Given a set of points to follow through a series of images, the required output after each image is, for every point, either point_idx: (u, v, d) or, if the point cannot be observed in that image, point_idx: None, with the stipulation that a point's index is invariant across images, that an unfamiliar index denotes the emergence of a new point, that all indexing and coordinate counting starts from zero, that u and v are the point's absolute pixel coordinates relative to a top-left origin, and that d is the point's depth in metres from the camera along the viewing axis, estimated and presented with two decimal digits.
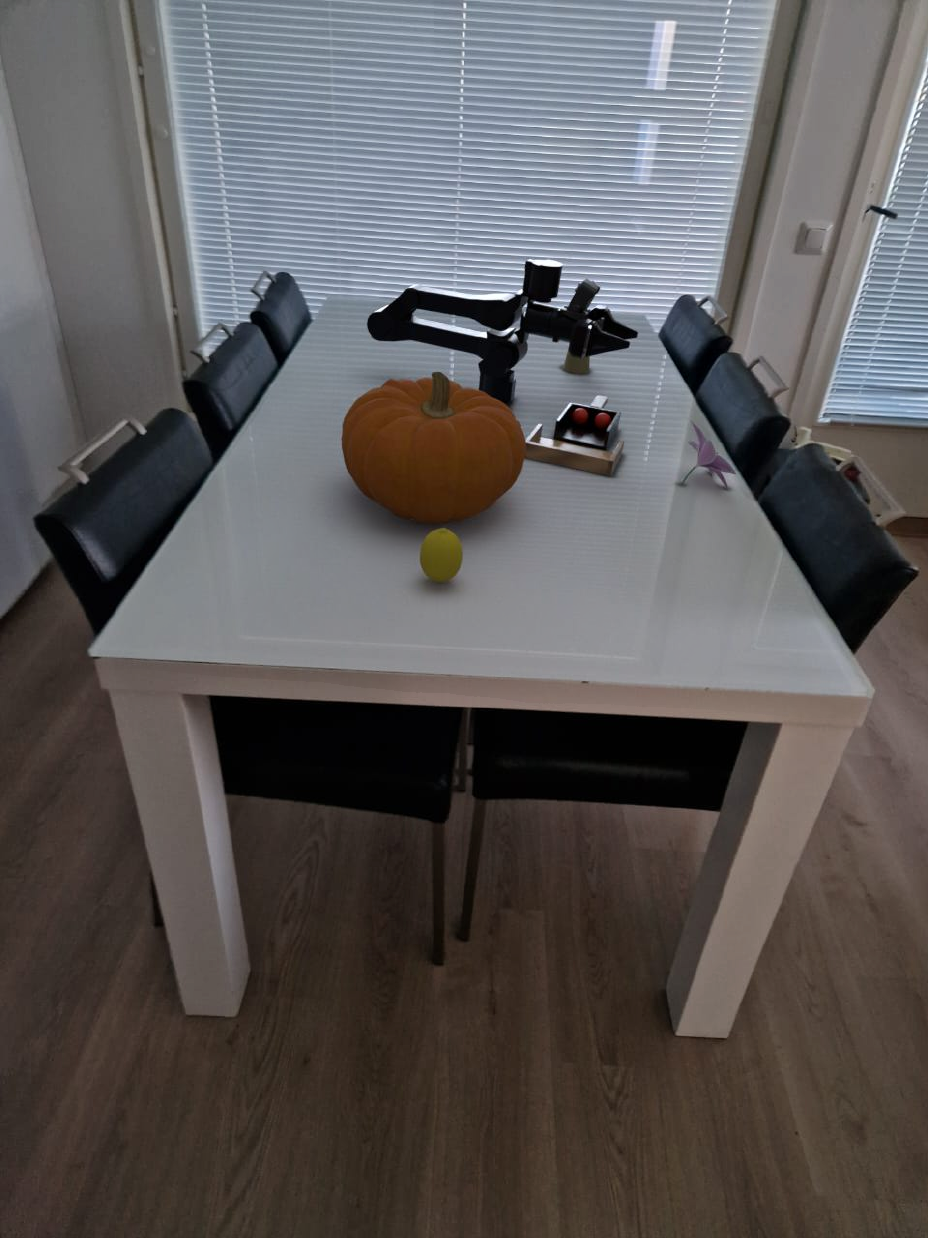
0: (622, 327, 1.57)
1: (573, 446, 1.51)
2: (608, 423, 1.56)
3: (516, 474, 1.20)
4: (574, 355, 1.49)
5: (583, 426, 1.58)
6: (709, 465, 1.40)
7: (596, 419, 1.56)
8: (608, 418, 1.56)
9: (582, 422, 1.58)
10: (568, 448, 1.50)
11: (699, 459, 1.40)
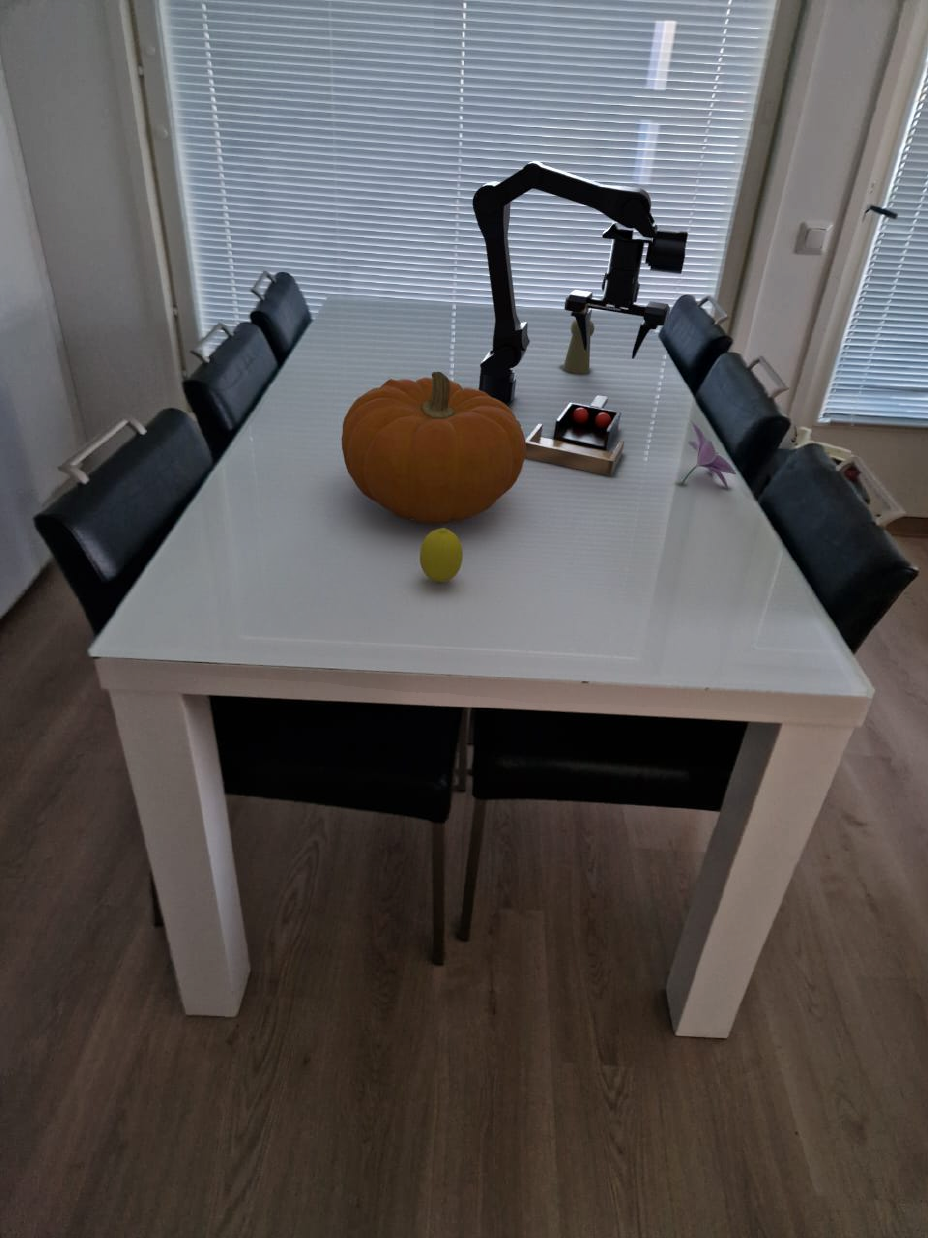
0: None
1: (573, 446, 1.51)
2: (608, 422, 1.56)
3: (516, 474, 1.20)
4: (664, 317, 1.49)
5: (583, 426, 1.58)
6: (709, 465, 1.40)
7: (596, 418, 1.57)
8: (608, 417, 1.56)
9: (582, 421, 1.58)
10: (568, 448, 1.50)
11: (699, 459, 1.40)
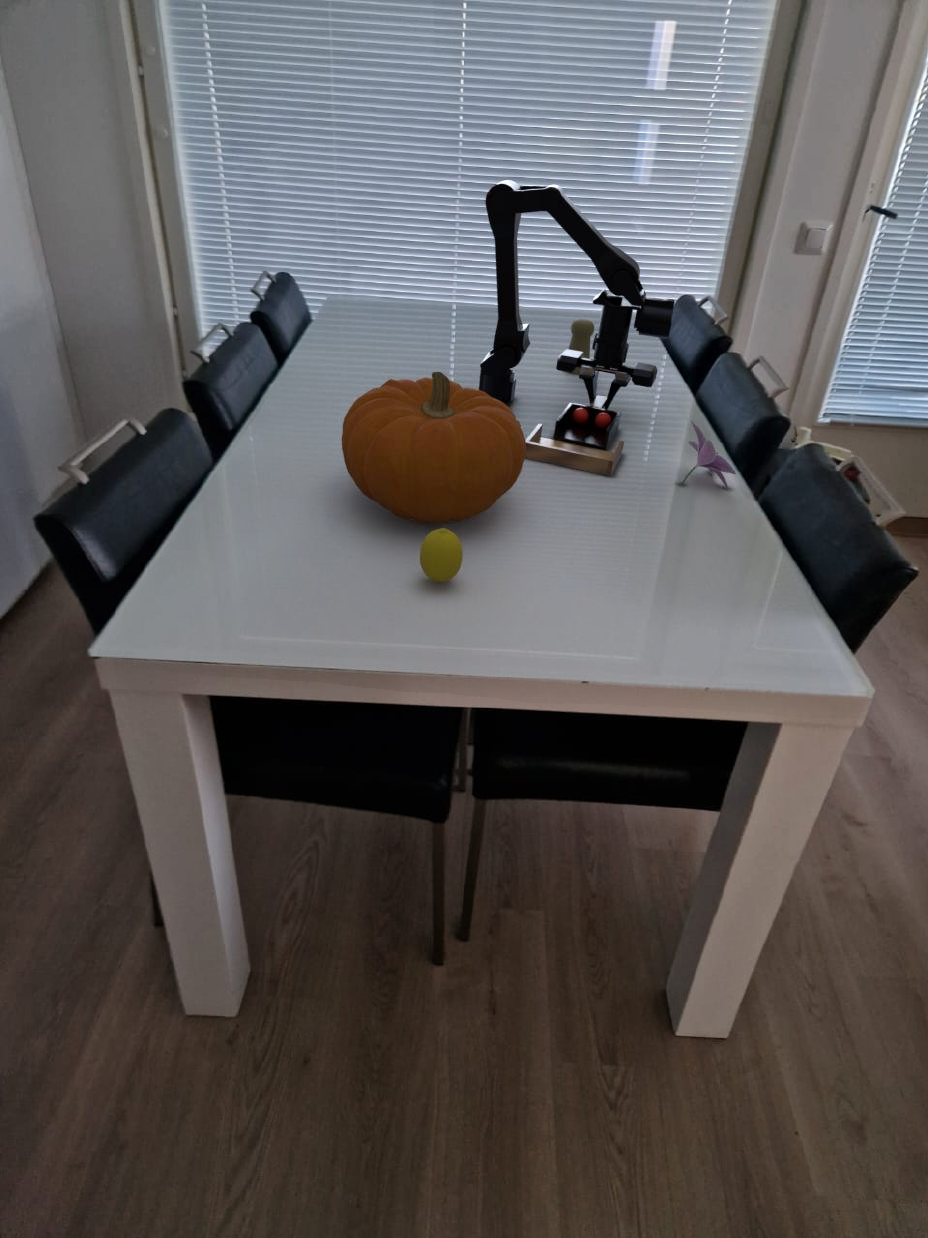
0: None
1: (573, 446, 1.51)
2: (608, 422, 1.56)
3: (516, 474, 1.20)
4: (651, 379, 1.55)
5: (583, 426, 1.58)
6: (709, 465, 1.40)
7: (596, 418, 1.57)
8: (608, 417, 1.56)
9: (582, 421, 1.58)
10: (568, 448, 1.50)
11: (699, 459, 1.40)
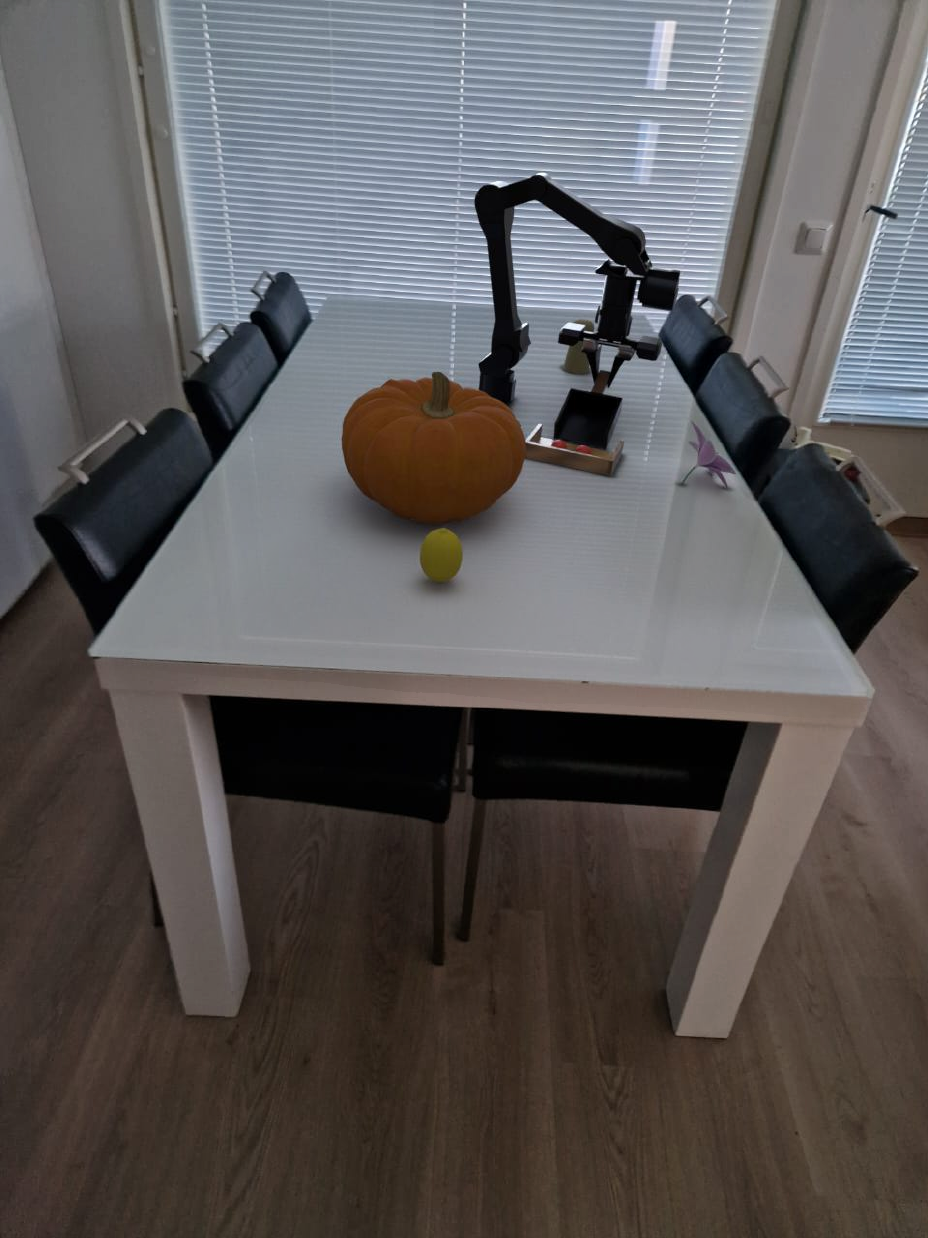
0: None
1: (573, 446, 1.51)
2: (590, 452, 1.43)
3: (516, 474, 1.20)
4: (656, 353, 1.50)
5: (585, 414, 1.56)
6: (709, 465, 1.40)
7: (577, 447, 1.44)
8: None
9: (562, 447, 1.44)
10: (568, 448, 1.50)
11: (699, 459, 1.40)
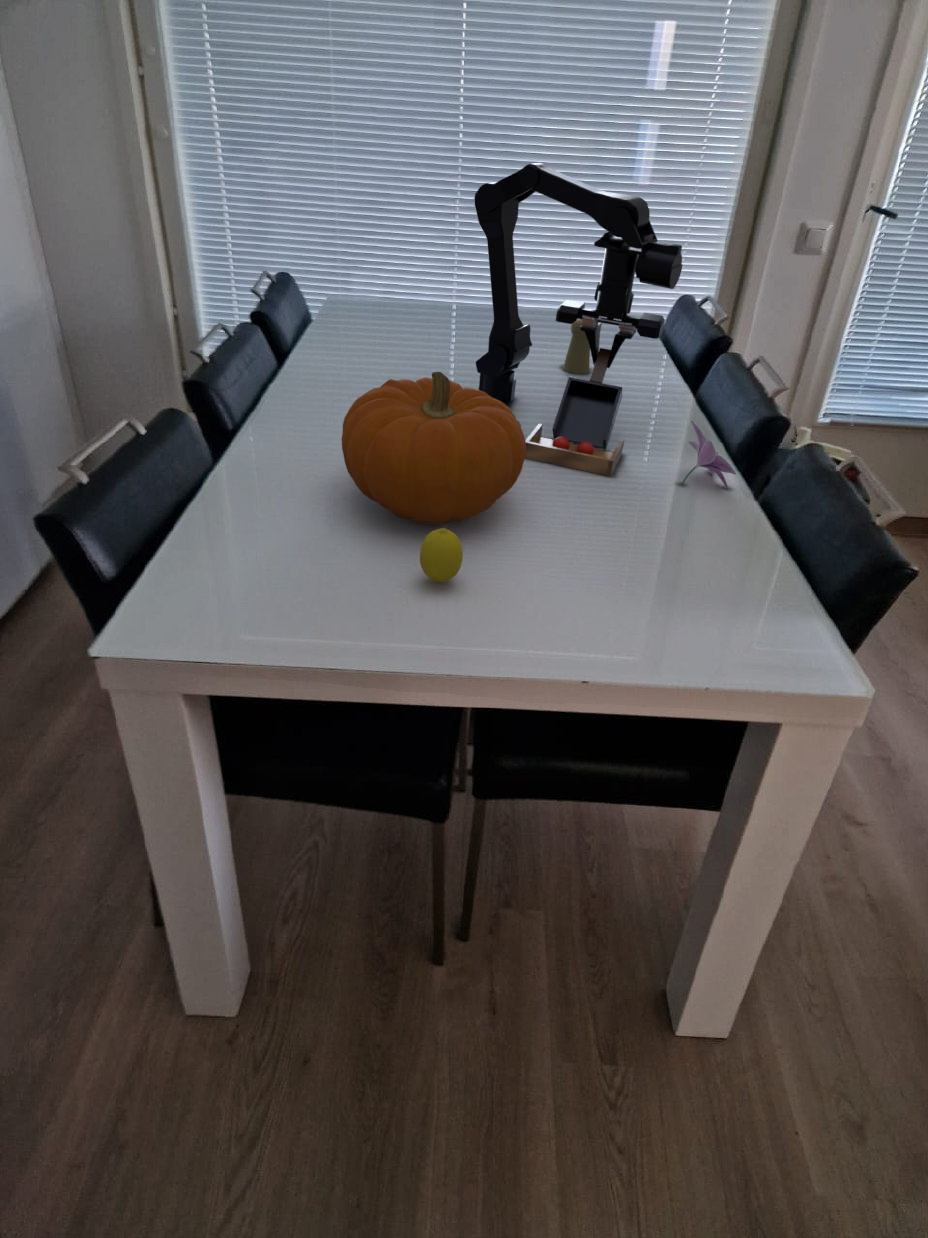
0: (598, 347, 1.52)
1: (573, 446, 1.51)
2: (593, 448, 1.46)
3: (516, 474, 1.20)
4: (658, 330, 1.44)
5: (585, 404, 1.53)
6: (709, 465, 1.40)
7: None
8: None
9: (566, 439, 1.46)
10: None
11: (699, 459, 1.40)
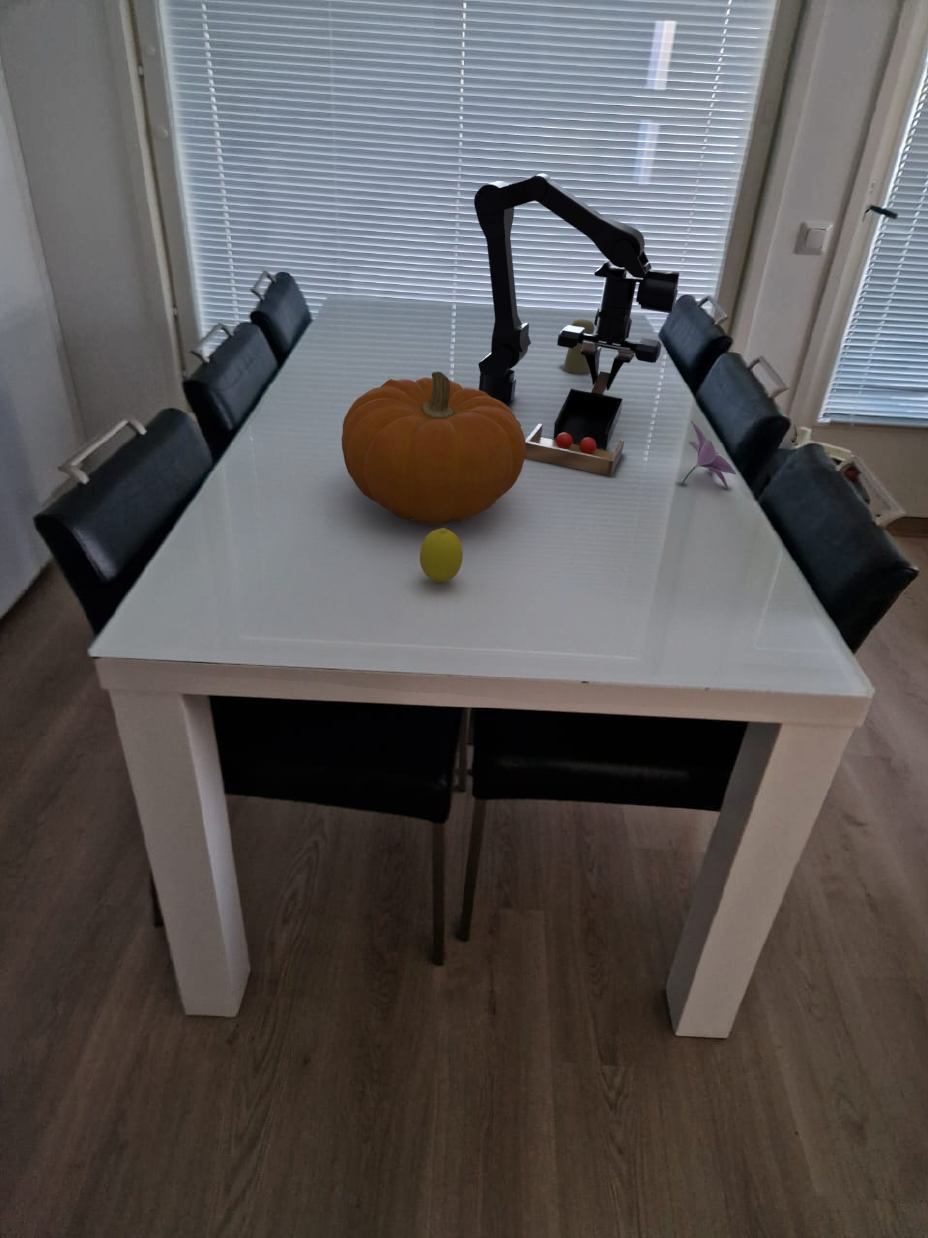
0: (598, 370, 1.59)
1: (573, 446, 1.51)
2: None
3: (516, 474, 1.20)
4: (655, 355, 1.50)
5: (584, 415, 1.56)
6: (709, 465, 1.40)
7: None
8: (592, 452, 1.48)
9: None
10: (568, 448, 1.50)
11: (699, 459, 1.40)
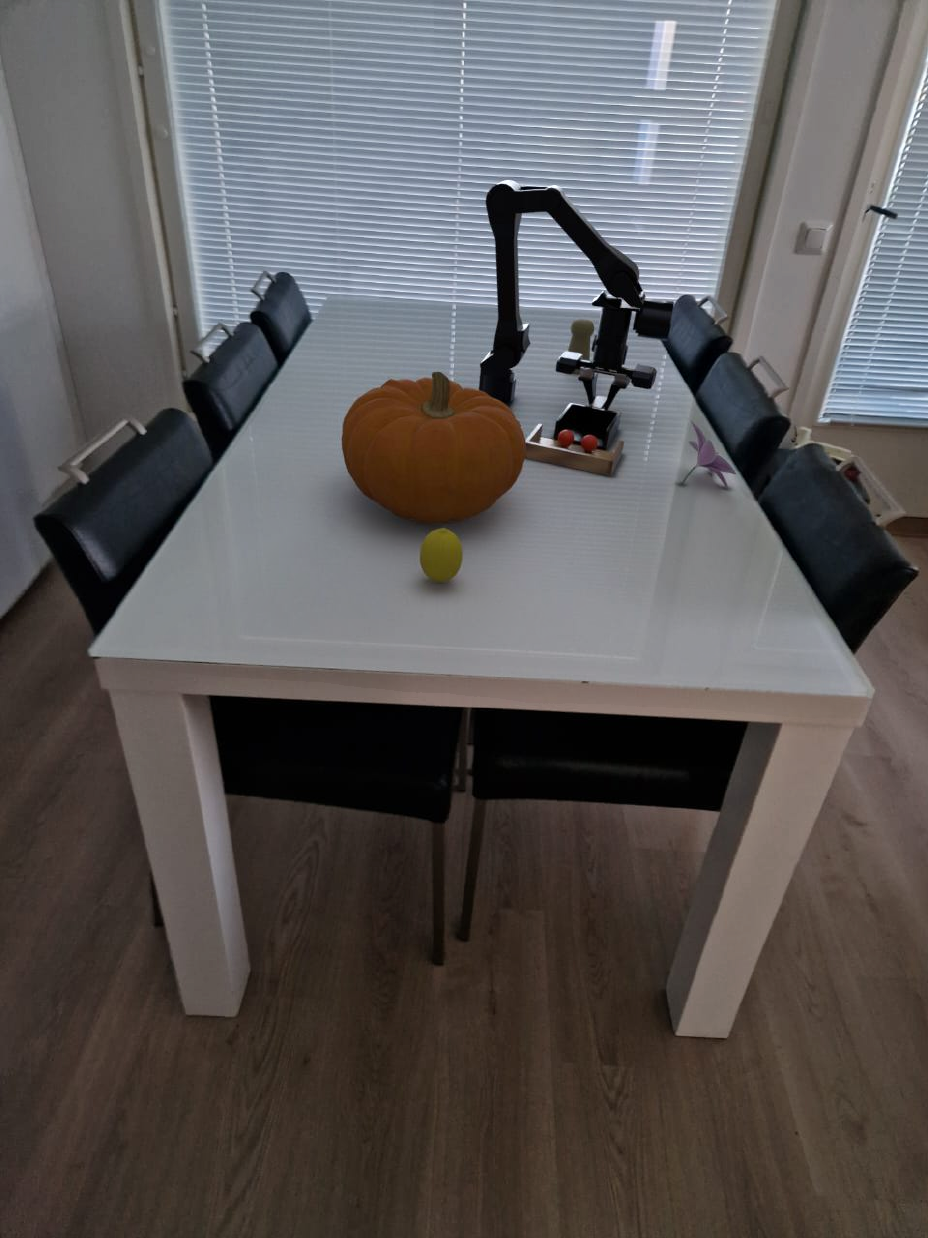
0: (595, 394, 1.63)
1: (573, 446, 1.51)
2: (595, 448, 1.49)
3: (516, 474, 1.20)
4: (650, 381, 1.55)
5: (583, 426, 1.58)
6: (709, 465, 1.40)
7: (582, 447, 1.49)
8: (593, 448, 1.48)
9: None
10: (568, 448, 1.50)
11: (699, 459, 1.40)
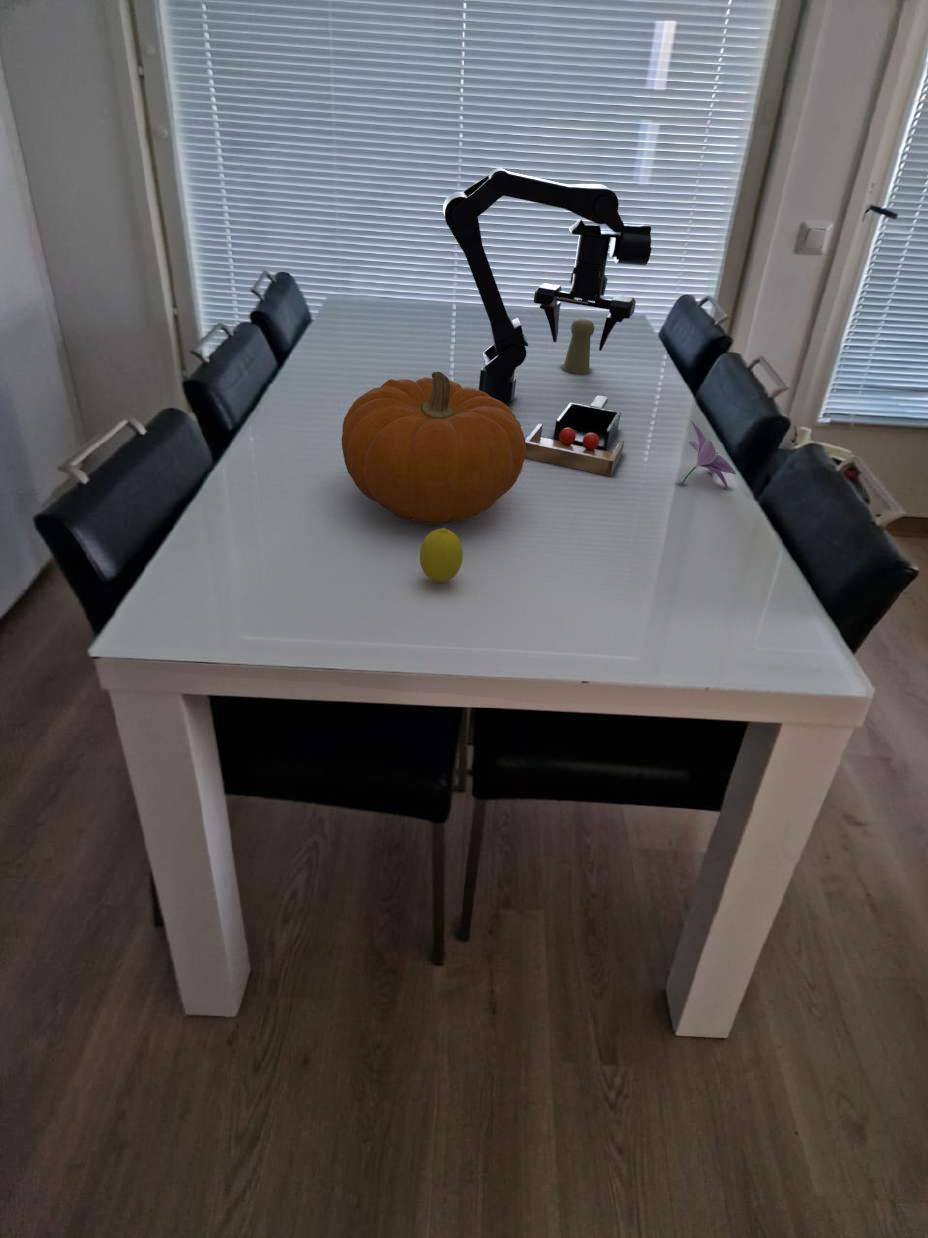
0: (558, 324, 1.63)
1: (573, 446, 1.51)
2: (596, 446, 1.49)
3: (516, 474, 1.20)
4: (629, 310, 1.53)
5: (583, 426, 1.58)
6: (709, 465, 1.40)
7: (583, 443, 1.49)
8: (596, 442, 1.48)
9: (570, 443, 1.51)
10: (568, 448, 1.50)
11: (699, 459, 1.40)
